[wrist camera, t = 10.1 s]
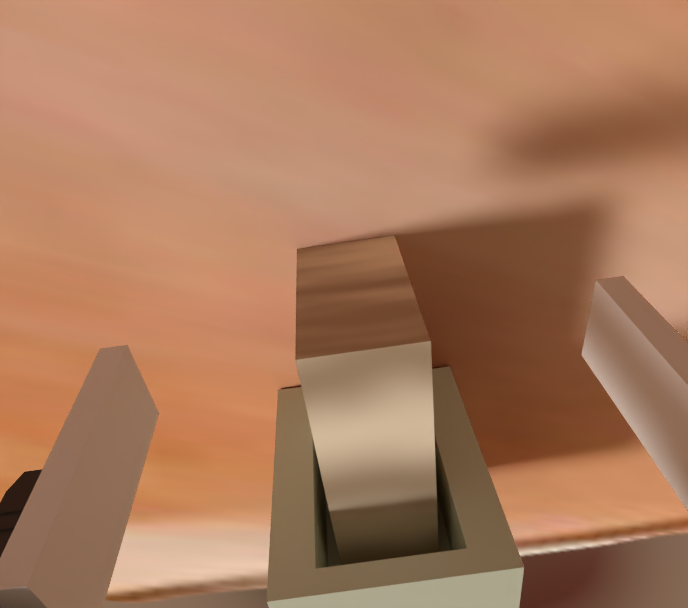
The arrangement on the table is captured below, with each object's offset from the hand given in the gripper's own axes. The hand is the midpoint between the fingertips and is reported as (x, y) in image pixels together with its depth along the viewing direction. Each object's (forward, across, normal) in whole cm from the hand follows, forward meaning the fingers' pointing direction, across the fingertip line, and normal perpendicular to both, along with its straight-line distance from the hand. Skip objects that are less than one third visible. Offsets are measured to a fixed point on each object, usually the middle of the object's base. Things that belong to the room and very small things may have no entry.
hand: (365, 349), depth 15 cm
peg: (+12, 0, -10) cm, 16 cm away
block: (+11, 0, -16) cm, 20 cm away
